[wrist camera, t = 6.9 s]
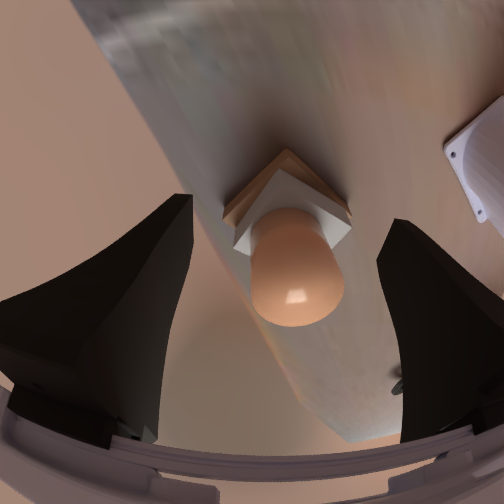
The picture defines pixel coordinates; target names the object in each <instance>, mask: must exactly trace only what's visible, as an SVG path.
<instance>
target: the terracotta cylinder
mask: <svg viewBox="0 0 504 504" xmlns="http://www.w3.org/2000/svg"><path fill="white" fill-rule="evenodd" d="M250 261H251V297H252V303H253V305H254V308H255V309H256V311H257V312H258V313H259V314H260V315H261V316H262V317H263V318H264V319H266V320H267V321H269V322H271V323H274V324H277V325H281V326H291V327H293V326H303V325H307V324H311V323H314V322H316V321H318V320H320V319H322V318H324V317H325V316H327V315H328V314H329V313H331V312H332V311H333V310H334V309H335V308H336V306H337V305H338V304H339V302H340V300H341V298H342V296H343V292H344V280H343V276H342V274H341V271H340V269H339V267H338V264H337V262H336V260H335V257H334V255H333V253H332V250H331V248H330V246H329V244H328V241H327V239H326V237H325V235H324V232H323V230H322V228H321V226H320V224H319V222H318V221H317V220H316V219H315V217H314V216H312V215H311V214H310V213H308V212H306V211H304V210H301V209H297V208H281V209H277V210H274V211H271V212H269V213H267V214H266V215H264V216H263V217H262V218H261V219H260V220H259V221H258V222H257V223H256V225H255V226H254V228H253V230H252V233H251V236H250Z"/></svg>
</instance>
